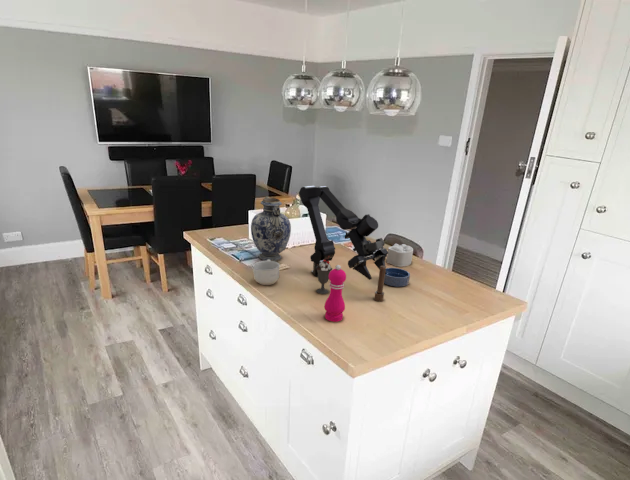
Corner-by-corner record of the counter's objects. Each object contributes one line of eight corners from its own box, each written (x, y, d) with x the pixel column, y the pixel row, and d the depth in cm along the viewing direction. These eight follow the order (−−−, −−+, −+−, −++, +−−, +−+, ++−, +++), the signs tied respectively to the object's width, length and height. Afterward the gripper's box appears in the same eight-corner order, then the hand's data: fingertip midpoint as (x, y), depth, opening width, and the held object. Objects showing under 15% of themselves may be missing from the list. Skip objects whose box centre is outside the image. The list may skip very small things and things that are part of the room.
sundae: (332, 290, 171) (335, 255, 165) (327, 296, 165) (330, 260, 159) (317, 287, 173) (319, 252, 166) (311, 292, 167) (314, 257, 161)
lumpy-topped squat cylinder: (383, 261, 208) (385, 244, 205) (400, 257, 216) (402, 241, 213) (399, 267, 201) (402, 250, 198) (416, 263, 209) (419, 246, 206)
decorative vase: (295, 263, 196) (298, 204, 185) (257, 266, 189) (257, 205, 178) (282, 249, 214) (283, 194, 202) (246, 251, 207) (246, 194, 195)
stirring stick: (376, 301, 163) (380, 268, 158) (372, 297, 167) (376, 265, 161) (384, 301, 165) (389, 267, 159) (380, 297, 168) (385, 264, 162)
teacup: (274, 289, 168) (274, 270, 164) (248, 285, 169) (248, 266, 166) (284, 277, 180) (284, 259, 177) (260, 273, 182) (260, 256, 179)
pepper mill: (322, 313, 151) (326, 261, 143) (342, 313, 152) (347, 261, 144) (324, 322, 145) (328, 268, 136) (345, 322, 145) (350, 269, 137)
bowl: (388, 288, 177) (389, 278, 175) (376, 277, 187) (377, 268, 185) (413, 286, 180) (415, 277, 179) (400, 276, 191) (402, 267, 189)
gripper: (356, 235, 153) (376, 272, 151) (387, 228, 165) (406, 262, 163) (339, 250, 161) (357, 285, 159) (370, 242, 174) (387, 275, 171)
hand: (378, 276), depth 163 cm, fingers open, 9 cm apart
